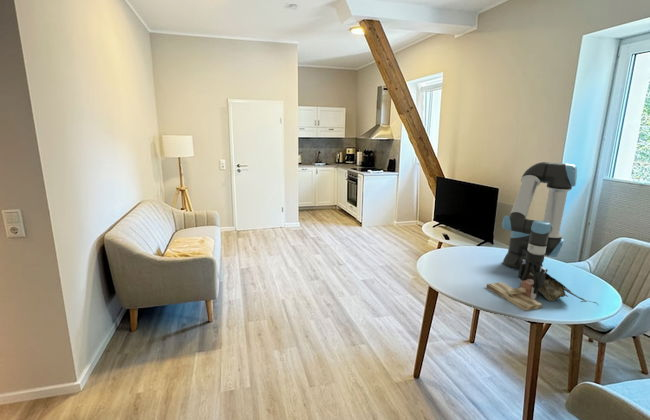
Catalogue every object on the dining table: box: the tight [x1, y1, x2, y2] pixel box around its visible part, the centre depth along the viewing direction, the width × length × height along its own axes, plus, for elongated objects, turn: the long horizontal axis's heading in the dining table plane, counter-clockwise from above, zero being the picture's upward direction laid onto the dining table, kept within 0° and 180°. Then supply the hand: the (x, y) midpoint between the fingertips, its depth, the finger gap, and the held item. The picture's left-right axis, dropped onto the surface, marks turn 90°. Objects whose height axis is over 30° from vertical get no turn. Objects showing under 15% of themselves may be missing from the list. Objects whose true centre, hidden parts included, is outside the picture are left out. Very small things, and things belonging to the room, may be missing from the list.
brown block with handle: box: [506, 279, 539, 299], centre depth 167 cm, size 16×5×8 cm, turn 108°
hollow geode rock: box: [527, 269, 572, 302], centre depth 176 cm, size 28×13×15 cm
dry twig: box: [563, 287, 599, 306], centre depth 174 cm, size 24×10×2 cm, turn 5°
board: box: [486, 281, 543, 311], centre depth 168 cm, size 10×24×2 cm, turn 18°
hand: (527, 295), depth 169 cm, fingers closed on brown block with handle, 5 cm apart
